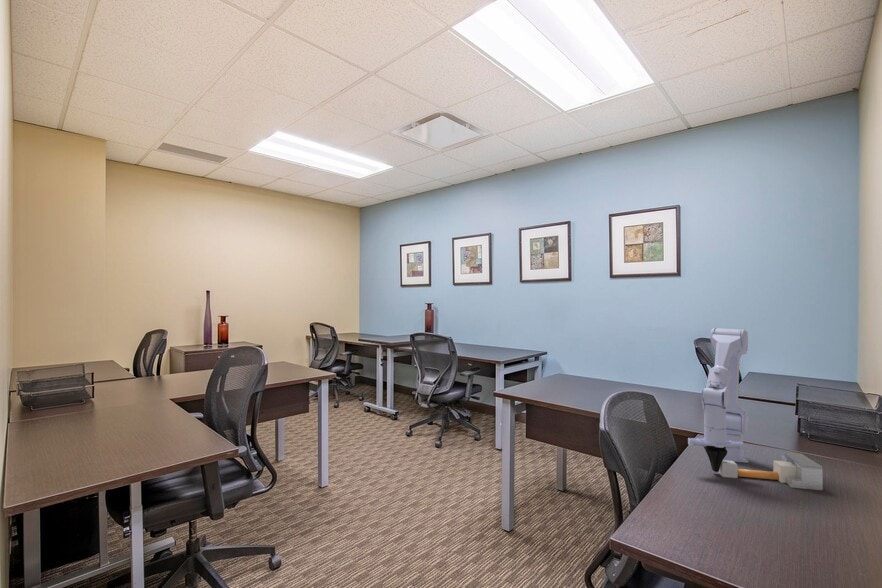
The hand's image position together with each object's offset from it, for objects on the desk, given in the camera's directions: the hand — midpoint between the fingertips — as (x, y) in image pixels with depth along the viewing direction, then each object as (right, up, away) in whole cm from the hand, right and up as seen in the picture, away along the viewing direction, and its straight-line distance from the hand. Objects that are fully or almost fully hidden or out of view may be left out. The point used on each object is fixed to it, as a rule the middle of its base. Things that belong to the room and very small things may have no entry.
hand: (715, 470), depth 128 cm
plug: (+11, -1, -3) cm, 11 cm away
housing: (+21, -1, -5) cm, 21 cm away
